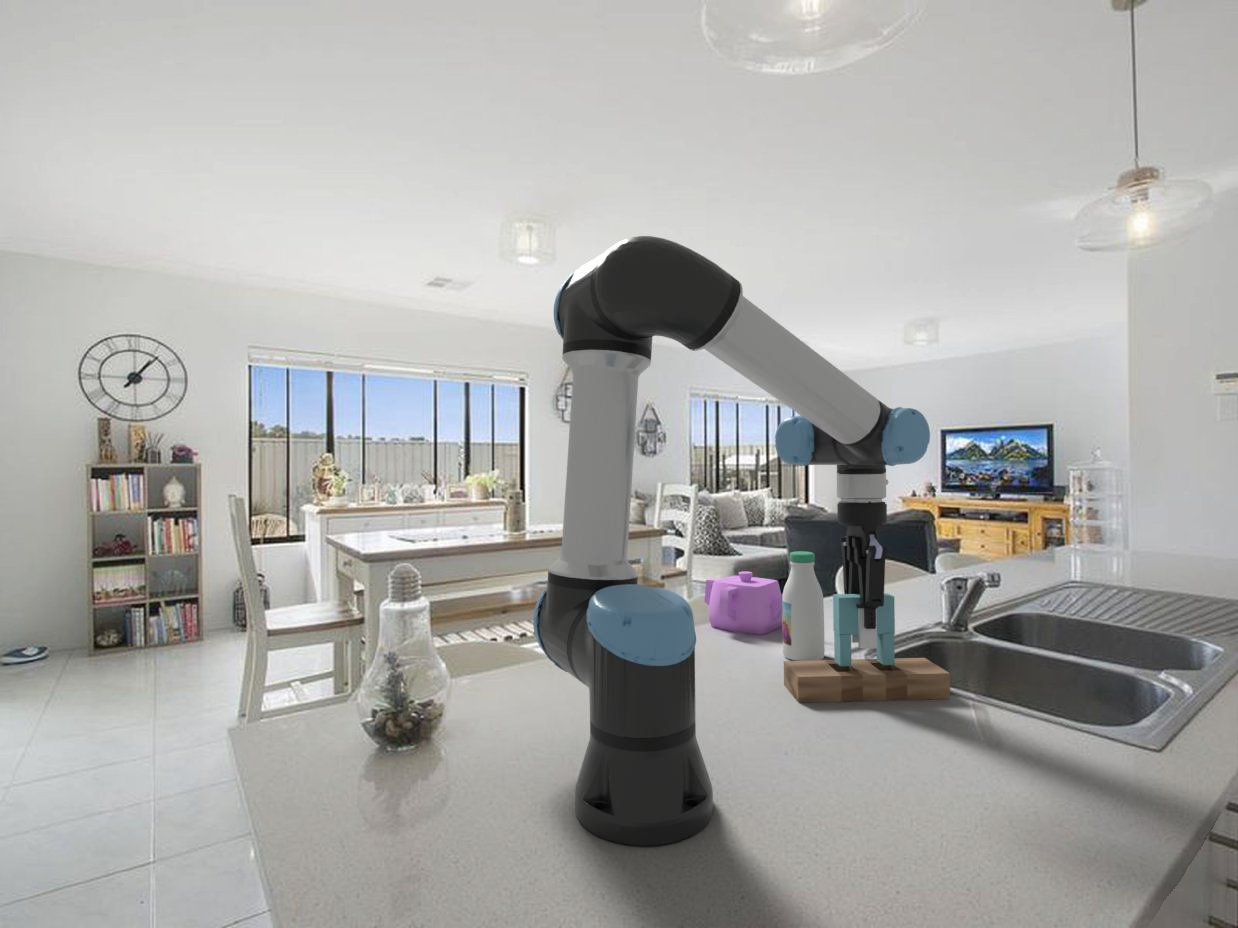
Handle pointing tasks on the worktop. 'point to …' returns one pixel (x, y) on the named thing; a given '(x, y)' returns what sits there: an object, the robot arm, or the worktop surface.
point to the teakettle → (744, 603)
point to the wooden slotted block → (866, 680)
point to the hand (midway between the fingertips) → (863, 644)
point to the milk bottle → (803, 611)
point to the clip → (848, 625)
